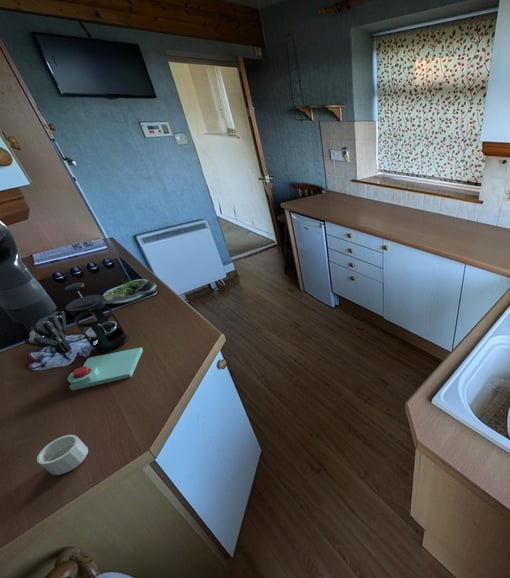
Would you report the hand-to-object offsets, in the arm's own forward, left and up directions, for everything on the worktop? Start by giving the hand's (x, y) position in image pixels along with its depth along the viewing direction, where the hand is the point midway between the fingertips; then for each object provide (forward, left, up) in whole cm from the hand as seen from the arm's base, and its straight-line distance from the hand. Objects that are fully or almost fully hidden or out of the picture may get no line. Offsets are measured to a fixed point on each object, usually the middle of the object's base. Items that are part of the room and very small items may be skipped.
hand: (65, 351), depth 79 cm
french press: (0, +17, -12) cm, 21 cm away
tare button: (0, 0, -9) cm, 9 cm away
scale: (+4, +3, -11) cm, 13 cm away
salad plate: (-2, +51, -12) cm, 52 cm away
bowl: (+6, -27, -11) cm, 30 cm away
